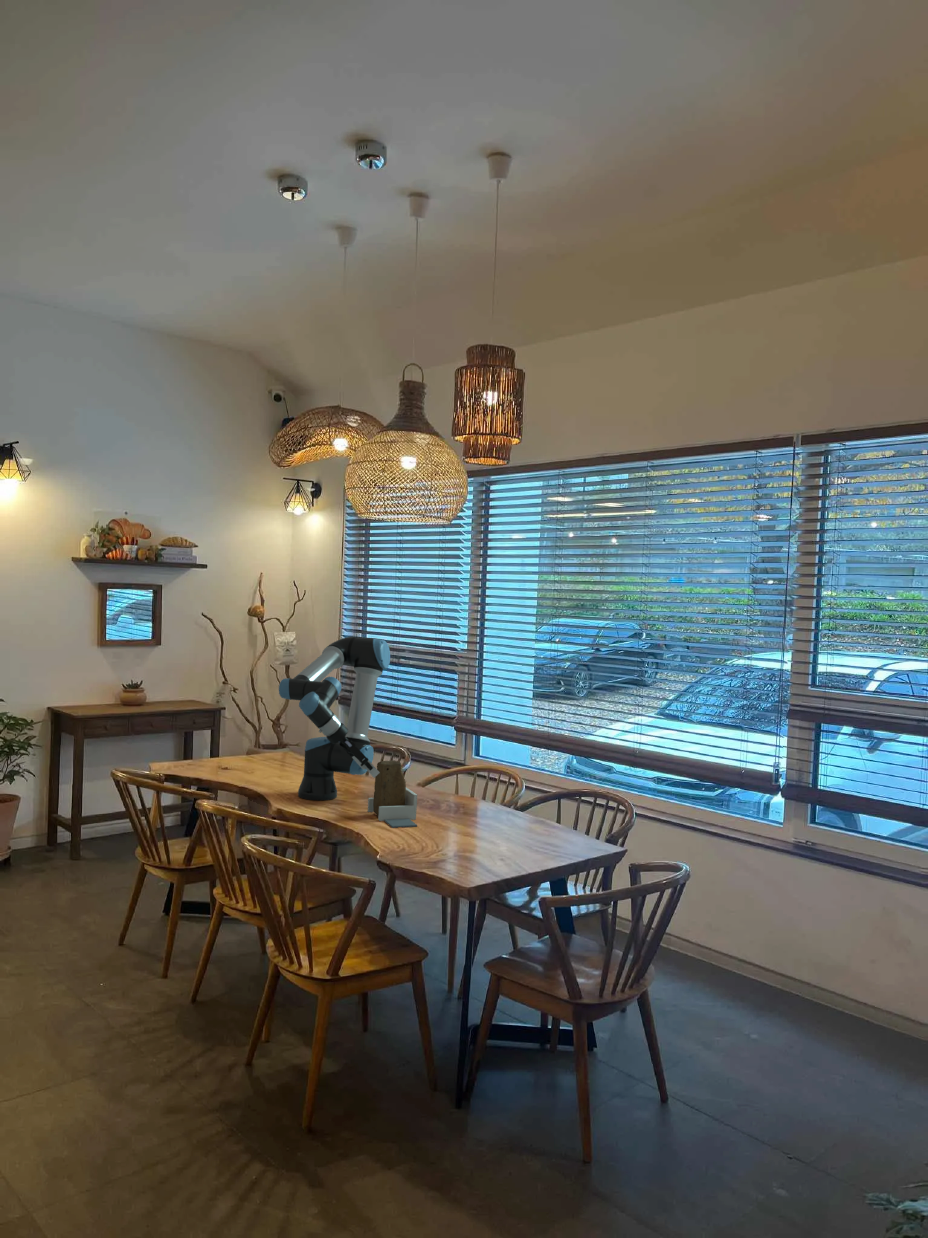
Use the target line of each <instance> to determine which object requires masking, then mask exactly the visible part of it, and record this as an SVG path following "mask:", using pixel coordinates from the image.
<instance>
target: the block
mask: <svg viewBox="0 0 928 1238" xmlns="http://www.w3.org/2000/svg"><path fill="white" fill-rule="evenodd" d="M376 769H377V770H378V771H379V772H380V773H379V774H378V775H377V776H376V777H375V778H374V792H373V798H374V799H373V809H374V812H373V814H375V816H377V817H378V815H379V806H405V794H406V788H407V783H406V782H407V781H406V779H405V776H404V772H403V771H402V762H401V761H399V760H383V761H378V762H377V764H376Z"/></svg>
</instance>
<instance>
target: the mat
mask: <svg viewBox="0 0 928 1238" xmlns="http://www.w3.org/2000/svg"><path fill="white" fill-rule="evenodd" d="M383 822H384V823H386V824H387V825H388V824H389V825H388V826H389V827H391V829H394V828H395V829H396V828H398V827H402V828H416V827H418V824H417V823H416V822H414V821H413V820H410V819H409V818H407V819H384V821H383ZM398 829H399V828H398Z"/></svg>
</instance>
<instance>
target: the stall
mask: <svg viewBox="0 0 928 1238" xmlns="http://www.w3.org/2000/svg"><path fill="white" fill-rule="evenodd" d="M373 799H374V797H368V801H367V812H368V813H374V809H373ZM417 805H418V794H417V793H415V792H414V791H413V790H411V789H410V788H408V787H406V794H405V806H379V815H378V816H377V818H378V819H377V820H379V822H385V821H384V819H407V818H409V819H410V820H411V821H413V820H417V810H418V809H417V807H418V806H417Z"/></svg>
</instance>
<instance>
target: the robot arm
mask: <svg viewBox="0 0 928 1238" xmlns="http://www.w3.org/2000/svg"><path fill="white" fill-rule="evenodd" d="M390 651H391V649H390V646H389V644H388V642H387V641H385V640H384V639H380V638H376V637H375V638H374V637H373V638H372V637H371V638H370V637H358V636H356V637H355V636H347V637H342V638H340V639H338V640H336V641H334V642H332V643H330V644H329V645H328V646H326V647H324V649H323V650H322V652H321V654H320V656H318V657H317V658H316V659H315V660H313V661H312V662H311V663H310V664H309V665H308V666H306V667H304V669H302V671H300V672H299V673H298V674H297V675H296V676H294V677H293V678H290V677H288V678H283V679H281V681H280V683H279V685H278V694H279V696H280V698H282V699H285V700H289V701H290V700H292V701H298V707H299V709H300V711H302V712H303V714H304V715H305V716H306V717H307V718H308V719H309V720H310V721H311V723H313V724H314V725H315V726H316V728H317V729H319V730H318V733H322V734H323V735H324V736H320V737H313V738H312V737H311V738H309V739H307V740H306V742H305V746H304V747H305V748H304V760H303V761H304V763H303V765H304V766H303V777H302V780H301V782H300V785H299V787H298V790H297V791H298V792H297V796H298V797H299V798H300V799H304V800H310V801H328V800H329V801H331V800H334V799H336V798H337V797H338V788H337V786H336V782H335V781H336V780H335V775H334V774H335V773H342V774H349V775H353V776H355V775H358V776H360V775H365V774H366V773H367V772H368V773H369V775H371V776H372V778H374V779H375V777H376V776H377V775H378V774H379V773H380V772H379V771H378V770H377V767H376V766H374V764H373V760H374V755H375V754H374V751H375V750H374V747H373V746H371V740H370V739H369V737H368V734H369V731H370V729H369V728H370V723H371V718H372V711H373V705H374V702H375V701H374V699H375V694H376V690H377V684H378V683H377V682H378V678H379V677H380V676H382V675H383V671H384V670H386V669H388V668H389V666H390V664H391V663H390V662H391V652H390ZM343 666H352V667H353V671H354V672H355V680H354V684H353V685H354V686H353V691H352V695H351V700H350V701H351V702H350V708H349V713H348V718H347V723H346V725H345V724H344V723H343V722H342V721H341V719H340V718H339V717H338V716H337V715H336V714H335V713H334V712H333V711H332V710H331V709H330V708H331V707H332V705H333V704H334V702H335V701H336V699H337V698H338V697H339V695H340V693H341V691H342V683H341V681H339V680H338V679H337V678H336V677H334V676H329V674H331V673H332V672H333V671H334V670H336V669H339V668H341V667H343Z"/></svg>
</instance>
